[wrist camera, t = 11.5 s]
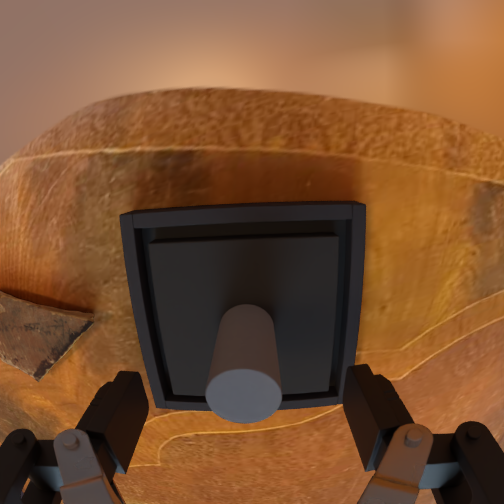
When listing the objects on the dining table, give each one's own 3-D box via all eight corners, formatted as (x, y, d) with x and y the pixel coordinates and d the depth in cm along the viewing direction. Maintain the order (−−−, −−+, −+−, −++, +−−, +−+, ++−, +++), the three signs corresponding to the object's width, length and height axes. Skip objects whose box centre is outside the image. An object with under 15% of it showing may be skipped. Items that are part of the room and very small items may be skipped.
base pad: (132, 210, 17) (118, 214, 15) (354, 200, 17) (366, 204, 15) (162, 391, 20) (156, 408, 19) (341, 386, 20) (348, 403, 18)
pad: (154, 238, 17) (95, 279, 10) (333, 231, 17) (384, 270, 10) (176, 384, 19) (150, 463, 12) (325, 380, 19) (350, 460, 12)
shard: (103, 312, 19) (91, 323, 17) (111, 396, 21) (103, 410, 19) (-3, 283, 19) (-17, 290, 17) (12, 359, 20) (2, 369, 19)
